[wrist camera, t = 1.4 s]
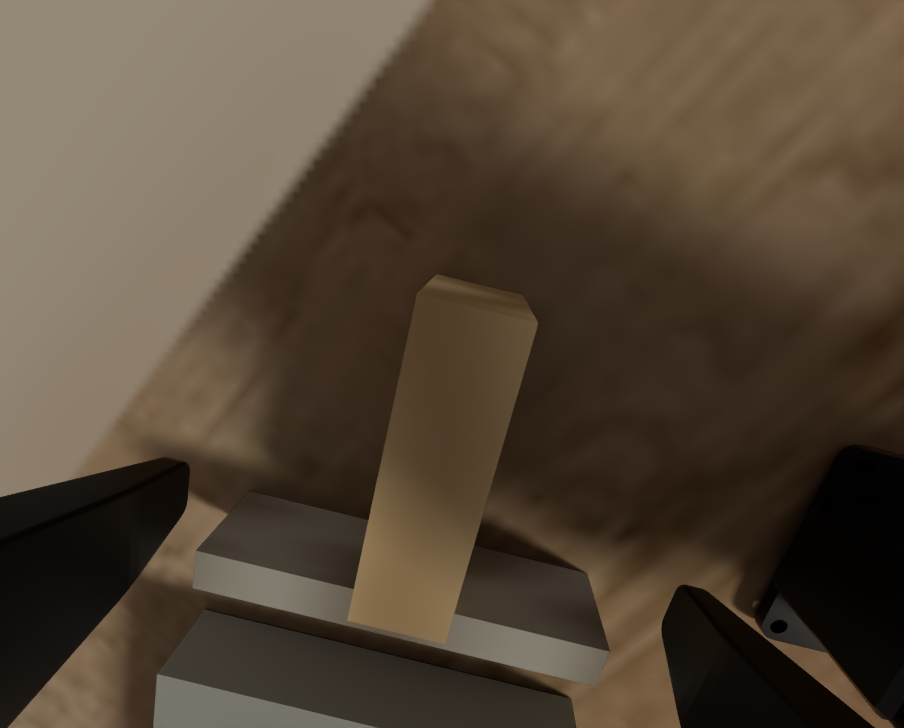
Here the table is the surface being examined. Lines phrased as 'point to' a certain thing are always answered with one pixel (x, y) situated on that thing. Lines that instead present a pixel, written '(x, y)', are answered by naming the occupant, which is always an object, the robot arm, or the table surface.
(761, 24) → the table surface
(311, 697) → the grey stepped riser
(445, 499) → the scraper
